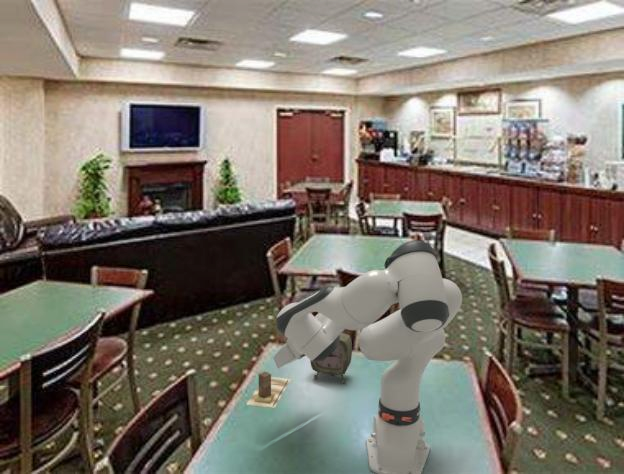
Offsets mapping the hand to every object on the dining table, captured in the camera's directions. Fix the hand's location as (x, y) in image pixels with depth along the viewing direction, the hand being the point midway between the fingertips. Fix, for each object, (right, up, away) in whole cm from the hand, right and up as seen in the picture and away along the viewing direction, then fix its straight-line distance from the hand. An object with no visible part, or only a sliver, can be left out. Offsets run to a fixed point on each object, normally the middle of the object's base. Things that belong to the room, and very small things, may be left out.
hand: (288, 361), depth 167 cm
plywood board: (-8, -16, +19) cm, 26 cm away
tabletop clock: (+15, -14, +33) cm, 39 cm away
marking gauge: (-9, -16, +13) cm, 22 cm away
